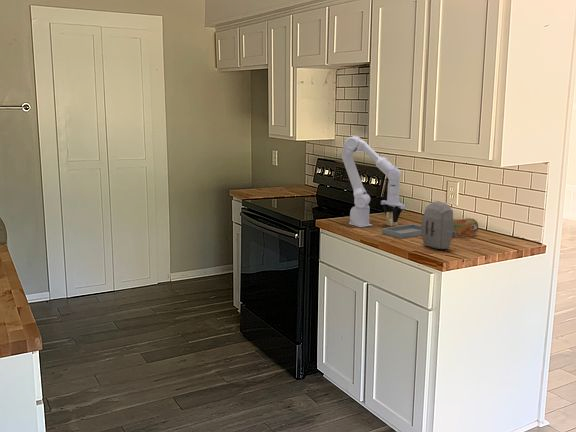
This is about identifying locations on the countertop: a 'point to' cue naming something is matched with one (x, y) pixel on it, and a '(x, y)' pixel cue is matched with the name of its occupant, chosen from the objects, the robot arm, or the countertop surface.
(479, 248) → the countertop surface
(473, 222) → the tin
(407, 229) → the tray
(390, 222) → the block
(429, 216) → the grey rounded bag
